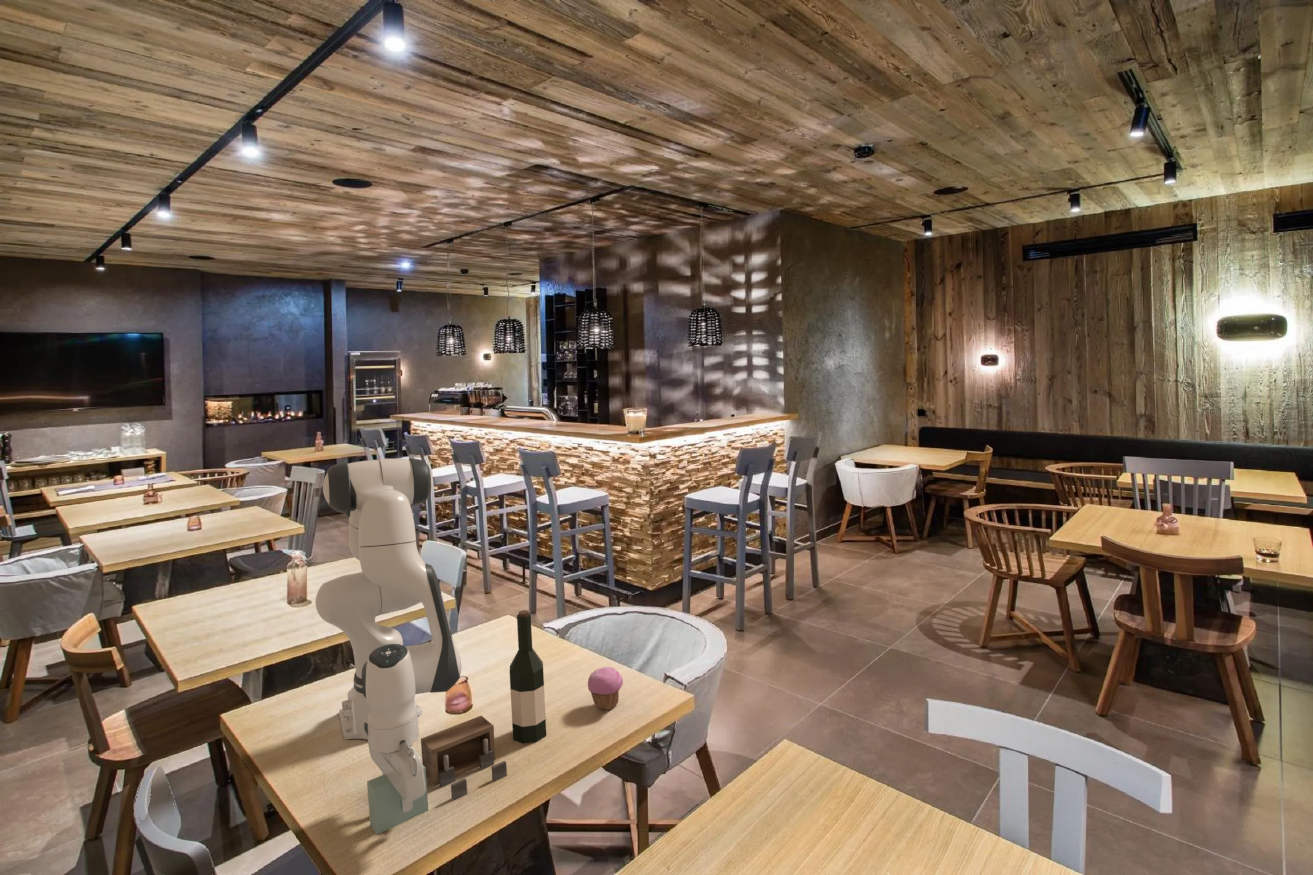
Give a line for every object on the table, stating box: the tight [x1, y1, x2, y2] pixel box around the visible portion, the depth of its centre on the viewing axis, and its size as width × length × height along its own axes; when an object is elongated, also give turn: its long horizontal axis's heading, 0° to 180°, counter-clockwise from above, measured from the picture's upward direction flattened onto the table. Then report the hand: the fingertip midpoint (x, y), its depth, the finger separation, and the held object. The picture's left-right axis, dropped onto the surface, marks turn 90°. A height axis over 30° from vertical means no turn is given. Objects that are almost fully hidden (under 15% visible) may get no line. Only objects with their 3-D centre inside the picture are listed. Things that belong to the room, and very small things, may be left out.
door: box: [366, 764, 429, 835], centre depth 130 cm, size 5×10×9 cm, turn 131°
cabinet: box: [420, 715, 508, 801], centre depth 144 cm, size 13×14×8 cm
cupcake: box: [587, 666, 624, 711], centre depth 171 cm, size 9×9×10 cm
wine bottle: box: [509, 609, 547, 745], centre depth 158 cm, size 8×8×30 cm
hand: (398, 799), depth 130 cm, fingers open, 7 cm apart
